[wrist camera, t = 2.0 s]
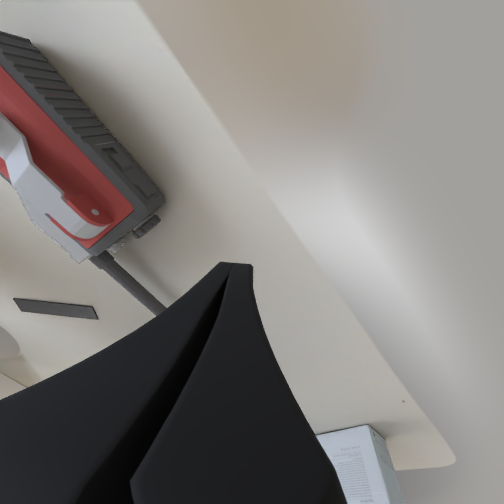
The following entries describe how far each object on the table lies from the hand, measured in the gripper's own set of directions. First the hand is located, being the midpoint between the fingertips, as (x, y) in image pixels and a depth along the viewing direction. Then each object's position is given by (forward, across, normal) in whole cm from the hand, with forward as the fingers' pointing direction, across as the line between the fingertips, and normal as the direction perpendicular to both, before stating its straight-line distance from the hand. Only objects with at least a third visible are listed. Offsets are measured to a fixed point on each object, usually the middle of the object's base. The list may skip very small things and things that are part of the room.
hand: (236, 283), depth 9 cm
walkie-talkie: (+8, +11, 0) cm, 14 cm away
